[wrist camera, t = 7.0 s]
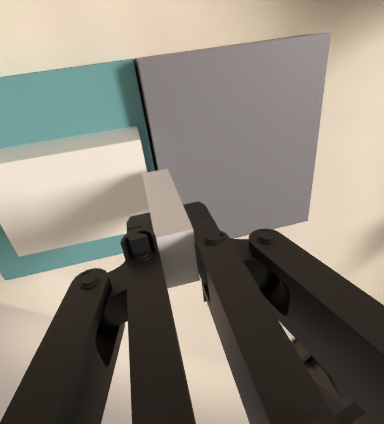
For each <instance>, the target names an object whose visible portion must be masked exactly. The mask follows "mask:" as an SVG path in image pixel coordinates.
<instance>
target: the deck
mask: <svg viewBox="0 0 384 424" xmlns="http://www.w3.org/2000/svg"><path fill="white" fill-rule="evenodd" d="M330 34H331V33H320V34H309V35H300V36H293V37H286V38H278V39H271V40H264V41H257V42H250V43H242V44H235V45H228V46H221V47H214V48H207V49H199V50H192V51H185V52H178V53H171V54H163V55H156V56H149V57H142V58H135V61H136V66H137V71H138V77H139V82H140V87H141V92H142V97H143V102H144V107H145V113H146V118H147V123H148V128H149V133H150V138H151V143H152V149H153V154H154V159H155V164H156V169H157V171H158V170H163V169H168V171H169V173H170V176H171V178H172V180H173V183H174V185H175V187H176V190H177V192H178V194H179V197H180V199H181V202H182V204H183V205H184V204H188V203H193V202H198V201H199V202H201V203H203V204H204V205H206V207H207V209H208V210H209V212H210V214H211V216H212V218H213V219H214V221H215V223H216V225H217V226H218V228H219V230H220V231H223V232H225V233H226V234H227V235H228V236H229V238H232V239H233V238H237V237H242V236H246V235H250V234H251V233H252V232H253V231H255V230H258V229H275V228H279V227H284V226H288V225H292V224H296V223H300V222H305V221H308V214H309V206H310V198H311V190H312V182H313V173H314V165H315V157H316V149H317V141H318V133H319V124H320V116H321V108H322V100H323V92H324V83H325V75H326V67H327V59H328V51H329V43H330Z"/></svg>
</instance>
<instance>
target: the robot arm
mask: <svg viewBox="0 0 384 424" xmlns="http://www.w3.org/2000/svg"><path fill="white" fill-rule="evenodd" d="M142 175H143V180H144V185H145V190H146V195H147V200H148V205H149V210H150V212H149V213H144V214H140V215H135V216H130V218H129V219H128V221H127V223H126V225H127V234H125V235H124V236H123V238H122V239H121V242H120V244H121V247H122V250H123V253H124V257H125V262H124V263H123V264H122V265H121V266H120V267H118V268H116V269H114V270H112V271H110V272H108V273H107V272H106V271H105V270H103V269H99V268H94V269H89V270H86V271H84V272H82V273H80V274H79V275H78V276H77V277H75V279H74V280H73V281H72V283H71V285H70V287H69V289H68V291H67V293H66V294H65V296H64V298H63V300H62V302H61V304H60V306H59V308H58V310H57V312H56V314H55V316H54V318H53V320H52V322H51V324H50V326H49V328H48V330H47V332H46V334H45V336H44V338H43V340H42V342H41V343H40V346H39V347H38V349H37V351H36V353H35V355H34V357H33V359H32V361H31V363H30V365H29V367H28V369H27V371H26V373H25V375H24V377H23V379H22V381H21V383H20V385H19V387H18V389H17V390H16V392H15V395H14V397H13V398H12V400H11V402H10V404H9V406H8V408H7V410H6V412H5V414H4V416H3V418H2V420H1V422H0V424H101V421H102V417H103V412H104V409H105V404H106V401H107V396H108V392H109V388H110V384H111V380H112V376H113V372H114V368H115V364H116V360H117V356H118V352H119V347H120V343H121V340H122V336H123V331H124V327H125V322H127V321H128V334H129V358H130V382H131V406H132V424H196V423H195V417H194V413H193V408H192V403H191V399H190V394H189V389H188V384H187V380H186V375H185V370H184V366H183V361H182V356H181V351H180V347H179V342H178V337H177V332H176V328H175V323H174V318H173V313H172V309H171V304H170V299H169V295H168V290H167V288H171V287H175V286H179V285H183V284H187V283H191V282H195V281H199V280H200V278H201V281H202V288H203V296H204V302H205V301H207V303H208V306H209V309H210V312H211V315H212V317H213V320H214V323H215V326H216V329H217V332H218V334H219V337H220V340H221V343H222V346H223V349H224V351H225V354H226V357H227V360H228V363H229V365H230V368H231V371H232V374H233V377H234V380H235V383H236V385H237V388H238V391H239V394H240V397H241V400H242V403H243V405H244V408H245V411H246V414H247V417H248V419H249V423H250V424H384V305H383V304H381V303H380V302H378V301H377V300H375V299H374V298H372V297H371V296H370V295H368V294H367V293H365V292H364V291H362V290H361V289H360V288H358V287H357V286H355V285H354V284H352V283H351V282H350V281H348V280H347V279H345V278H344V277H342V276H341V275H340V274H338V273H337V272H335V271H334V270H332V269H331V268H329V267H328V266H327V265H325V264H324V263H322V262H321V261H319V260H318V259H317V258H315V257H314V256H312V255H311V254H309V253H308V252H307V251H305V250H304V249H302V248H301V247H299V246H298V245H297V244H295V243H294V242H292V241H291V240H289V239H288V238H286V237H285V236H284V235H282V234H281V233H279V232H277V231H275V230H272V229H258V230H255V231H253V232H252V233H251V234H250V236H249V239H232V238H229V236H228V235H227V234H226V233H225V232H223V231H220V230H219V228H218V226H217V225H216V223H215V221H214V219H213V218H212V216H211V214H210V212H209V210H208V209H207V207H206V205H204V204H203V203H201V202H199V201H198V202H193V203H188V204H184V205H183V204H182V202H181V199H180V197H179V194H178V192H177V190H176V187H175V185H174V183H173V180H172V178H171V176H170V173H169V171H168V169H163V170H158V171H152V172H147V173H142ZM199 275H200V277H199ZM278 320H279V321H280V322H281V323H282V325H283V326H284V327H285V328H286V329H287V330H288V331H289V332H290V333H291V334H292V335H293V336H294V337H295V338H296V339H297V340H298V341H296V342H295V343H294V344H292V343H291V341H290V339H289V338H288V336H287V334H286V333H285V331H284V329H283V328H282V326H281V324H280V323H279V321H278Z"/></svg>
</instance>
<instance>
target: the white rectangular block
mask: <svg viewBox="0 0 384 424" xmlns="http://www.w3.org/2000/svg"><path fill="white" fill-rule="evenodd" d="M142 173H147V169H146V164H145V159H144V154H143V150H142V145H141V140H140V136H139V132H138V128H137V126H132V127H126V128H120V129H114V130H108V131H102V132H96V133H90V134H84V135H78V136H72V137H66V138H60V139H53V140H47V141H41V142H35V143H29V144H23V145H17V146H11V147H5V148H0V224H1V226H2V228H3V230H4V231H5V233H6V235H7V237H8V239H9V240H10V242H11V244H12V246H13V247H14V249H15V251H16V253H17V255H18V256H19V257H20V256H25V255H29V254H34V253H39V252H43V251H48V250H52V249H57V248H62V247H66V246H71V245H75V244H80V243H85V242H89V241H94V240H98V239H103V238H108V237H112V236H117V235H121V234H126V233H127V225H126V223H127V221H128V219H129V218H130V216H135V215H140V214H144V213H149V212H150V210H149V205H148V200H147V195H146V190H145V185H144V180H143V175H142Z"/></svg>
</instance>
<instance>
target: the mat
mask: <svg viewBox="0 0 384 424" xmlns="http://www.w3.org/2000/svg"><path fill="white" fill-rule="evenodd" d="M132 126H137V128H138V132H139V136H140V140H141V145H142V150H143V154H144V159H145V164H146V169H147V172H152V171H155V168H154V163H153V158H152V153H151V148H150V143H149V138H148V133H147V128H146V123H145V118H144V113H143V108H142V103H141V97H140V92H139V87H138V82H137V77H136V72H135V67H134V62H133V59H128V60H120V61H113V62H106V63H99V64H92V65H84V66H77V67H70V68H63V69H56V70H49V71H41V72H34V73H27V74H20V75H13V76H5V77H0V148H5V147H11V146H17V145H23V144H29V143H35V142H41V141H47V140H53V139H60V138H66V137H72V136H78V135H84V134H90V133H96V132H102V131H108V130H114V129H120V128H126V127H132ZM126 234H127V233H126ZM124 235H125V234H121V235H117V236H112V237H108V238H103V239H98V240H94V241H89V242H85V243H80V244H75V245H71V246H66V247H62V248H57V249H52V250H48V251H43V252H39V253H34V254H29V255H25V256H20V257H19V256H18V255H17V253H16V251H15V249H14V247H13V246H12V244H11V242H10V240H9V239H8V237H7V235H6V233H5V231H4V230H3V228H2V226H1V224H0V273H1V274H2V276H3V277H4V279H5V281H6V280H10V279H14V278H19V277H23V276H27V275H31V274H36V273H40V272H44V271H49V270H53V269H57V268H62V267H66V266H70V265H74V264H79V263H83V262H87V261H92V260H96V259H100V258H105V257H109V256H113V255H117V254H122V253H123V250H122V247H121V244H120V242H121V239H122V238H123V236H124Z"/></svg>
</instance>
